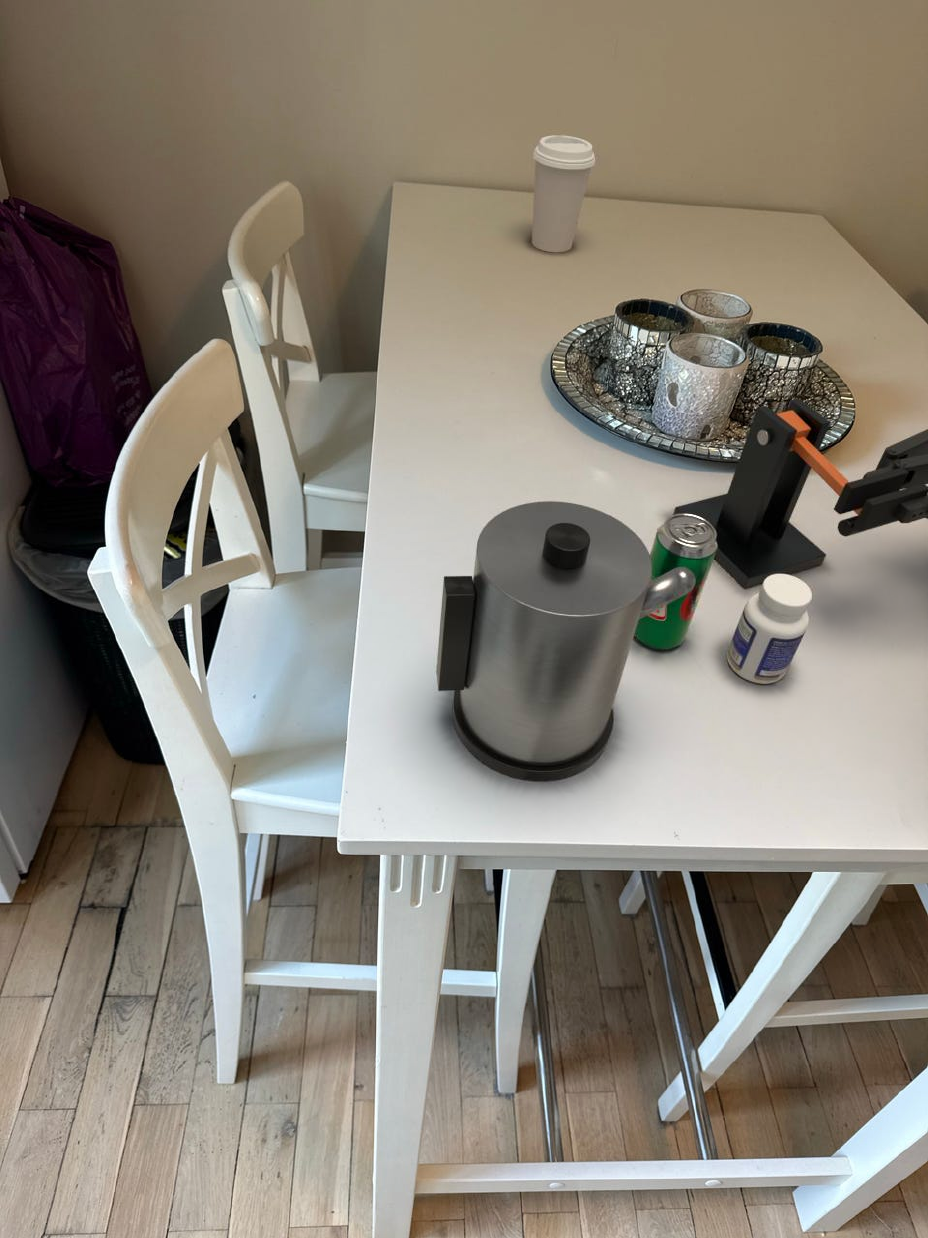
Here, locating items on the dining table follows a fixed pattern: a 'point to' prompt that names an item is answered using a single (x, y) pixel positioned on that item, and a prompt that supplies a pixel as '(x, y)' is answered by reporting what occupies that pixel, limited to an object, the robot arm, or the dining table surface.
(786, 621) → the pill bottle
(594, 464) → the dining table surface
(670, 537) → the soda can
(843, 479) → the orange switch lever
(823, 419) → the switch bracket
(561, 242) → the coffee cup
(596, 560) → the kettle
